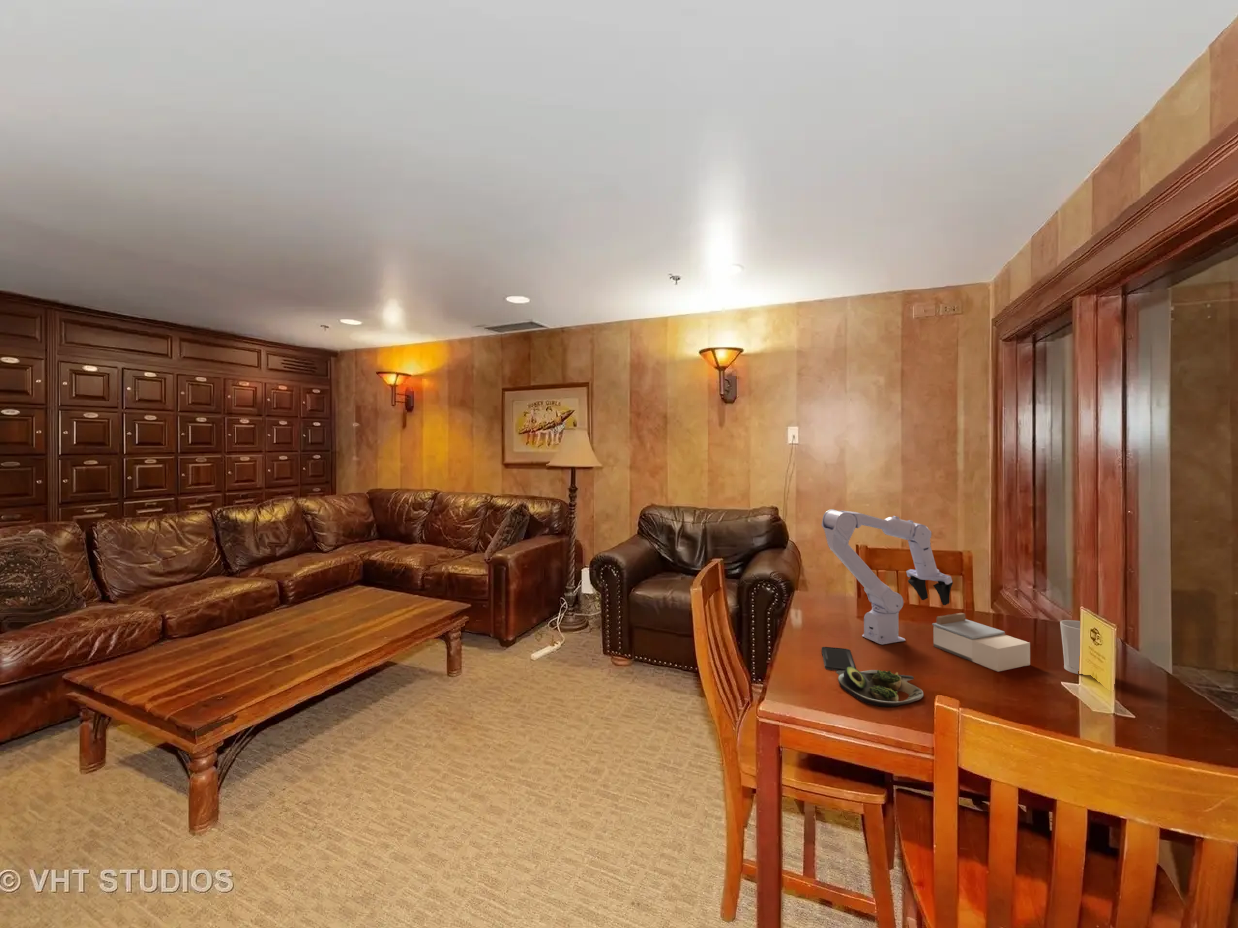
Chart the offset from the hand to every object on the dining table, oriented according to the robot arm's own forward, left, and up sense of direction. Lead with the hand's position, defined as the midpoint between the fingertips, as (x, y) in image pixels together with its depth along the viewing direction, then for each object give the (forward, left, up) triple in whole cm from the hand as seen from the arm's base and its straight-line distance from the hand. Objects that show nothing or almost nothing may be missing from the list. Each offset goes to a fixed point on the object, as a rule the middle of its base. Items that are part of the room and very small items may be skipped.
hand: (935, 601), depth 162 cm
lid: (-2, -12, -5) cm, 13 cm away
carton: (-2, -16, -11) cm, 19 cm away
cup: (+12, -32, -11) cm, 36 cm away
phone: (-41, -4, -11) cm, 43 cm away
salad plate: (-45, -22, -11) cm, 51 cm away
